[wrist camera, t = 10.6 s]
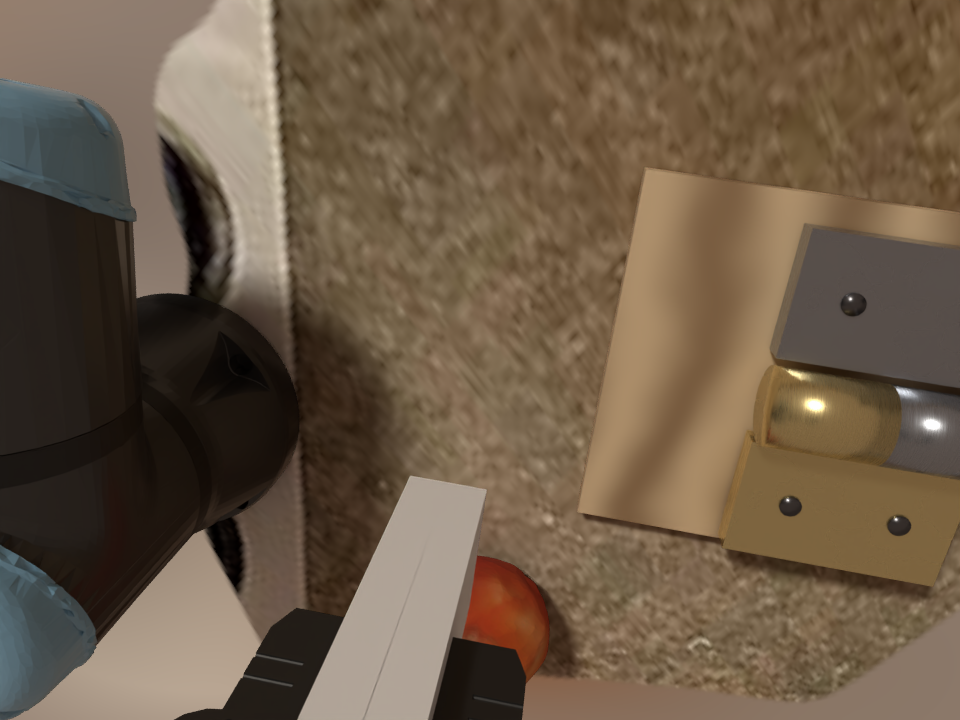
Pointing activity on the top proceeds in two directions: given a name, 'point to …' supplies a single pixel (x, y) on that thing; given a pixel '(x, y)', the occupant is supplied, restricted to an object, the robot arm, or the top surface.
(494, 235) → the top surface
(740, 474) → the loose leaf
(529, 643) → the tomato
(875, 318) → the fixed leaf
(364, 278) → the top surface
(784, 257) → the board
